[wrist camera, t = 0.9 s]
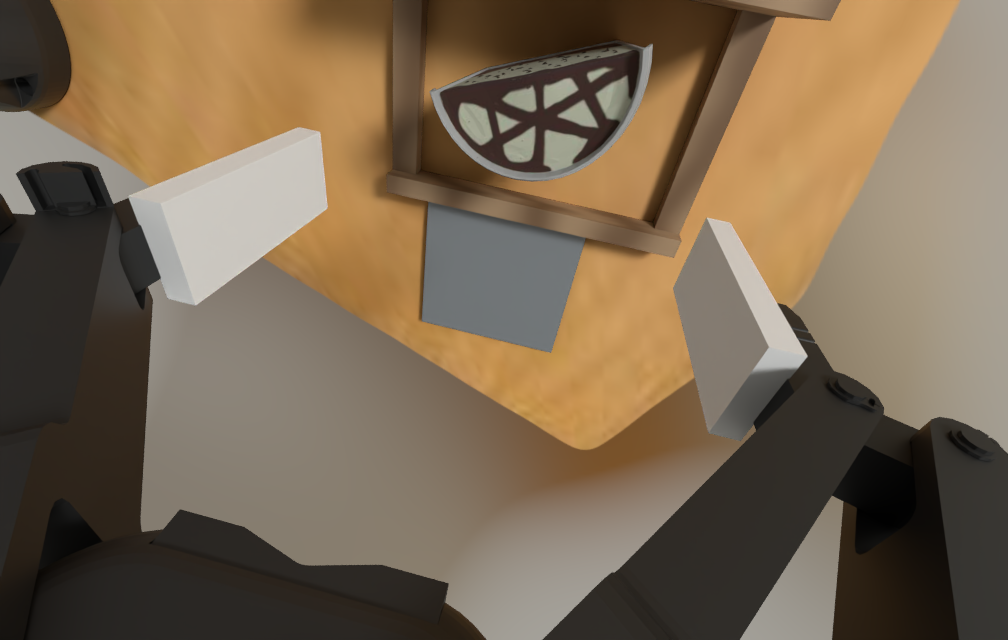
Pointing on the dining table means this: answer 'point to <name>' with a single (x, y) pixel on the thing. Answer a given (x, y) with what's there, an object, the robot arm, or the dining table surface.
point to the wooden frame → (740, 52)
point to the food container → (546, 109)
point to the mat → (497, 276)
